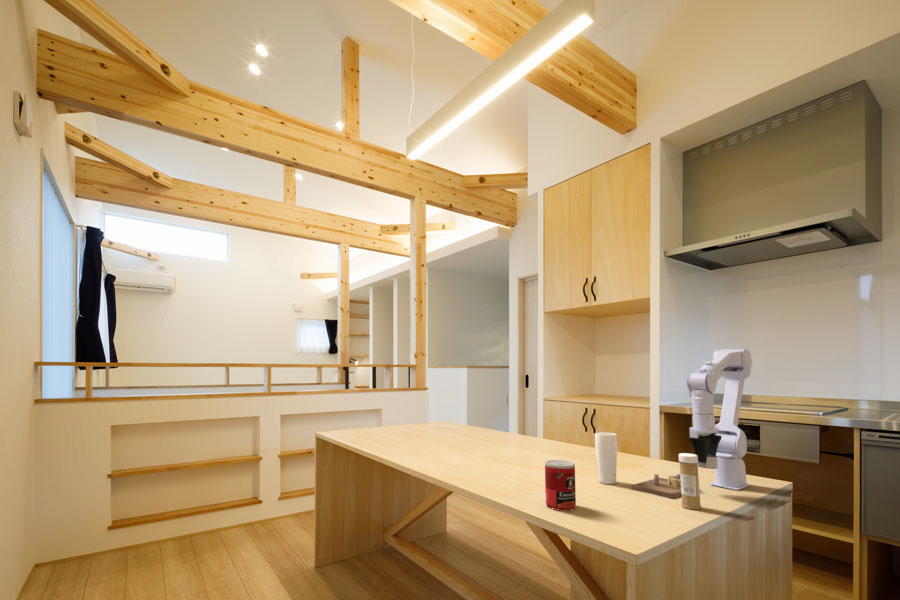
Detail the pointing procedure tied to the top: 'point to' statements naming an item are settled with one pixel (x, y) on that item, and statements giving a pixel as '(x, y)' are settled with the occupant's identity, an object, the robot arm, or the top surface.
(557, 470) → the canned food
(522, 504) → the top surface
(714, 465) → the loose gear
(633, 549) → the top surface
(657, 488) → the gear board
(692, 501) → the sprinkles bottle
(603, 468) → the drinking glass
